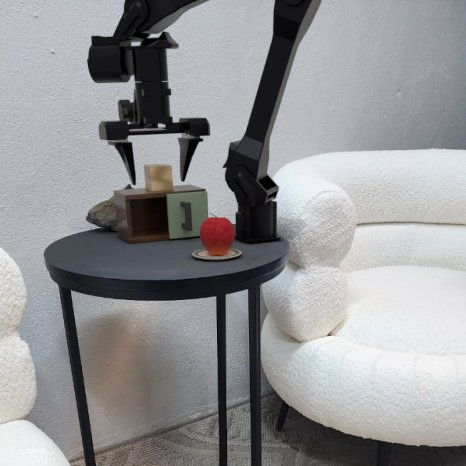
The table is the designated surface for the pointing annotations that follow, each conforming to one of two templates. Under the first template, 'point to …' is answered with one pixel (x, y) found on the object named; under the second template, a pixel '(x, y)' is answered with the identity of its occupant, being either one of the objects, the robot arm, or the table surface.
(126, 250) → the table surface
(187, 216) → the sliding door
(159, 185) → the block
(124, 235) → the cabinet
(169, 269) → the table surface
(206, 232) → the apple
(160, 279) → the table surface
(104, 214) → the rock
